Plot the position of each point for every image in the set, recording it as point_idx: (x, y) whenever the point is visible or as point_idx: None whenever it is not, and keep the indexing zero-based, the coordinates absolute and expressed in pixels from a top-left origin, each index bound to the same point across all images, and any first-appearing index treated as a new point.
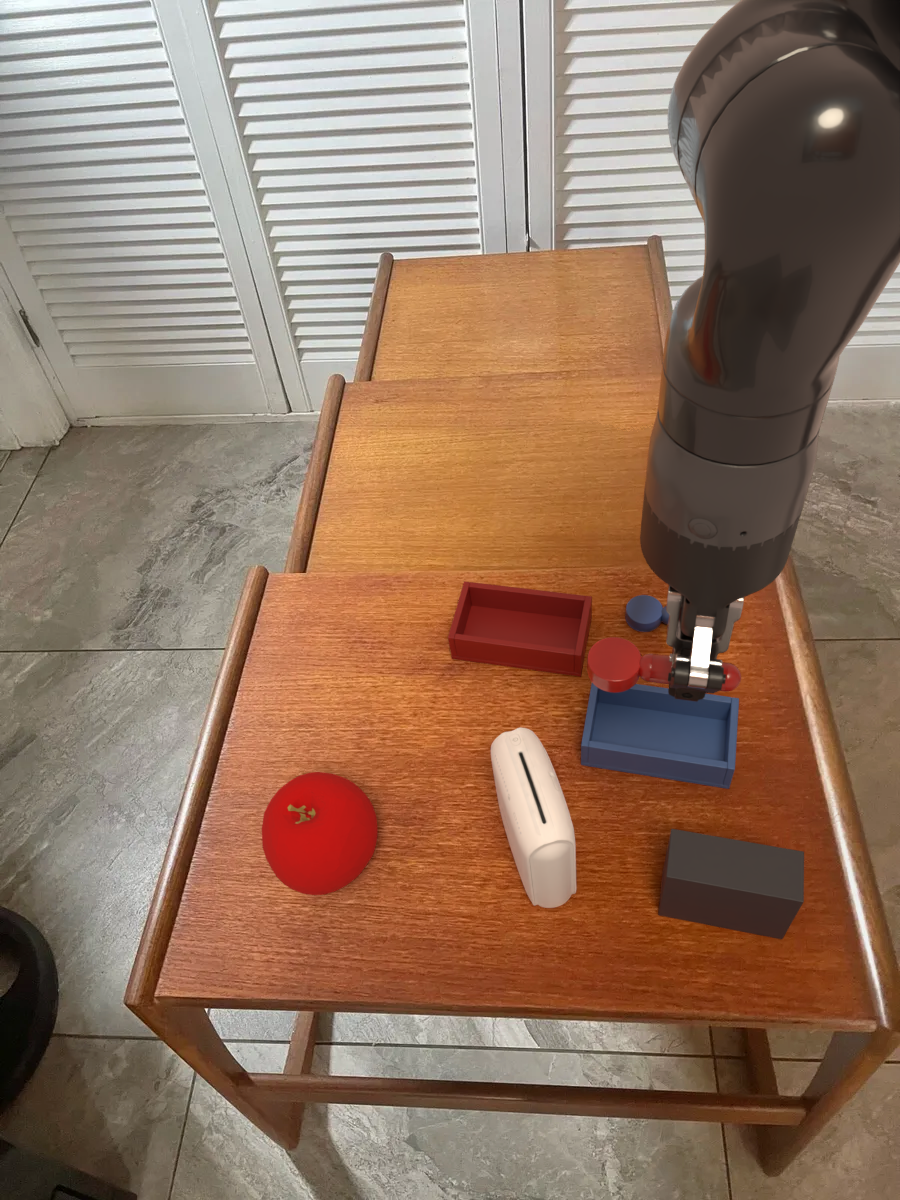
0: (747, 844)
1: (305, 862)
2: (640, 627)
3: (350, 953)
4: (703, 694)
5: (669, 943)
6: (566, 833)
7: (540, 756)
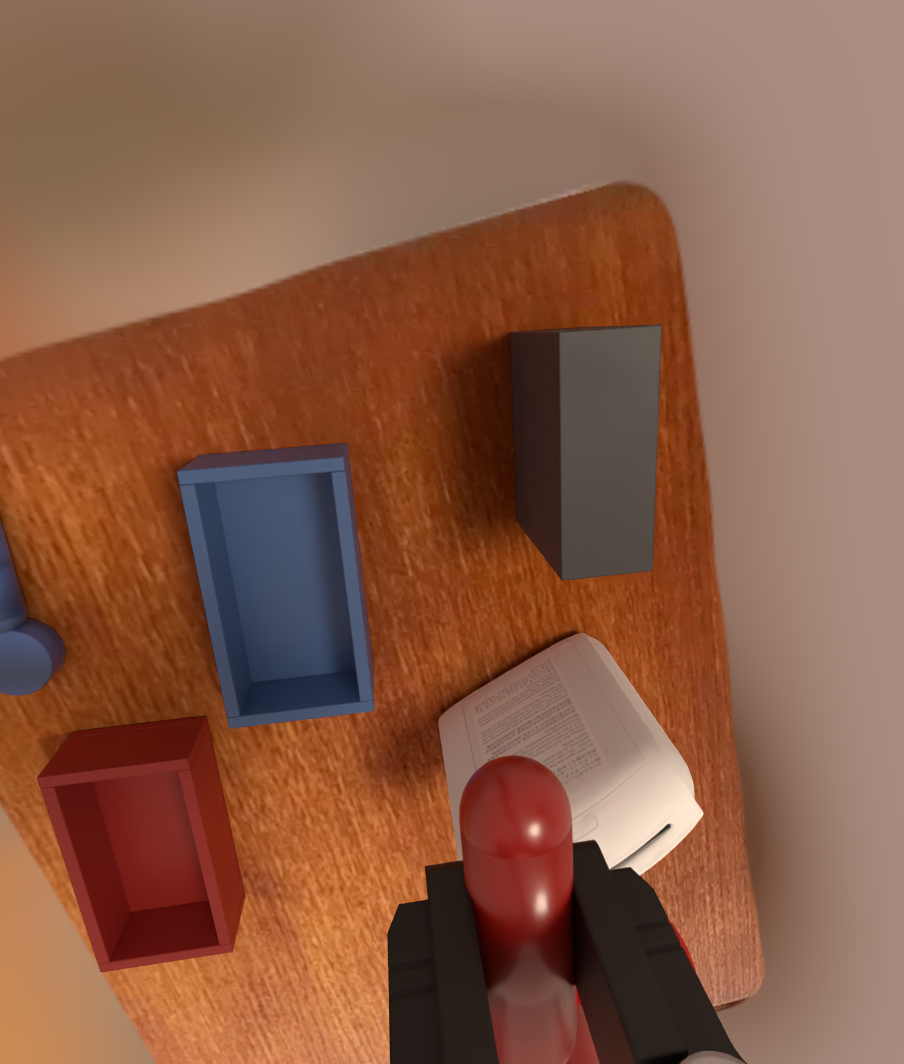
0: (567, 443)
1: None
2: (58, 655)
3: (701, 845)
4: (603, 861)
5: None
6: (669, 778)
7: None
